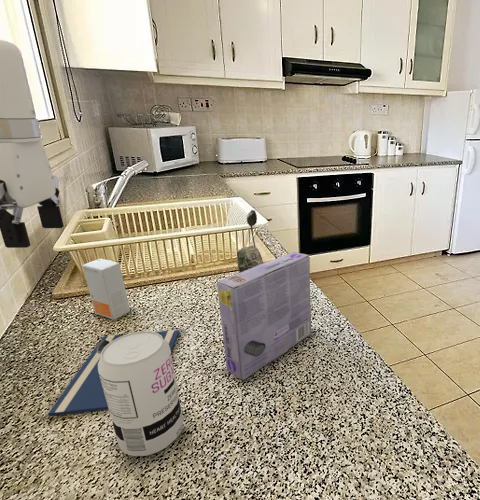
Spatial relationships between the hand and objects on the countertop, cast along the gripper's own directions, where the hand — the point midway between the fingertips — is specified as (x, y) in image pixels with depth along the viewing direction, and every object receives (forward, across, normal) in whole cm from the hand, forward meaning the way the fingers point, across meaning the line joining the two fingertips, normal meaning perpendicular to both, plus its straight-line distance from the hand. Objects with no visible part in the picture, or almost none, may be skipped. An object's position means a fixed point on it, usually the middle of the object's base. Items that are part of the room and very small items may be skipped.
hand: (37, 236), depth 63 cm
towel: (+22, +8, +13) cm, 27 cm away
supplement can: (+22, +24, +22) cm, 39 cm away
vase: (+22, +8, +13) cm, 26 cm away
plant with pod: (+22, -20, +34) cm, 45 cm away
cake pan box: (+22, +6, +39) cm, 45 cm away
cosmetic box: (+22, -12, +4) cm, 26 cm away
